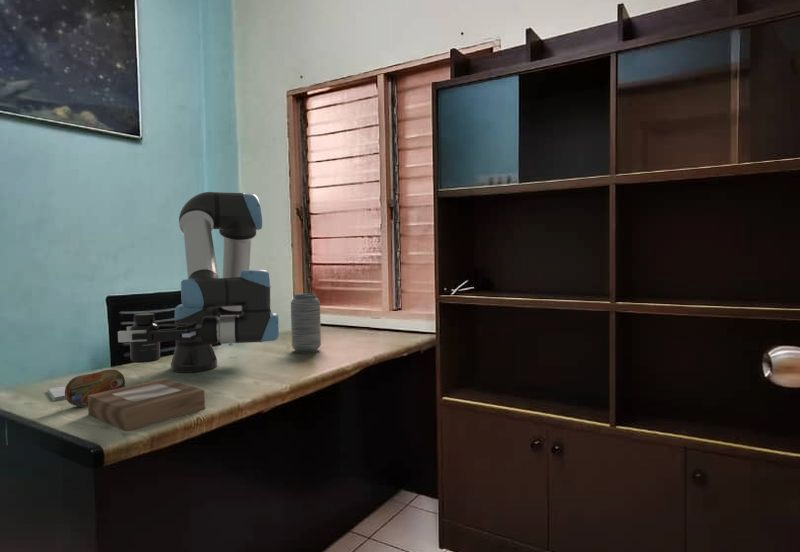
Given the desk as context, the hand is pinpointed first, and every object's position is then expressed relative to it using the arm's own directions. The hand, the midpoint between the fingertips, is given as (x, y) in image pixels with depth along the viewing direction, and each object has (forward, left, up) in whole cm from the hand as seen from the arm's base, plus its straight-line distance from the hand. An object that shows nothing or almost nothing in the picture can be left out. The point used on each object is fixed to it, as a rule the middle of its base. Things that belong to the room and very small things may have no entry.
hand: (123, 334), depth 128 cm
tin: (-17, 0, -21) cm, 27 cm away
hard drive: (-33, -1, -21) cm, 39 cm away
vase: (-19, +80, -21) cm, 85 cm away
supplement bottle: (+3, +4, -7) cm, 9 cm away
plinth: (+3, +4, -20) cm, 21 cm away
